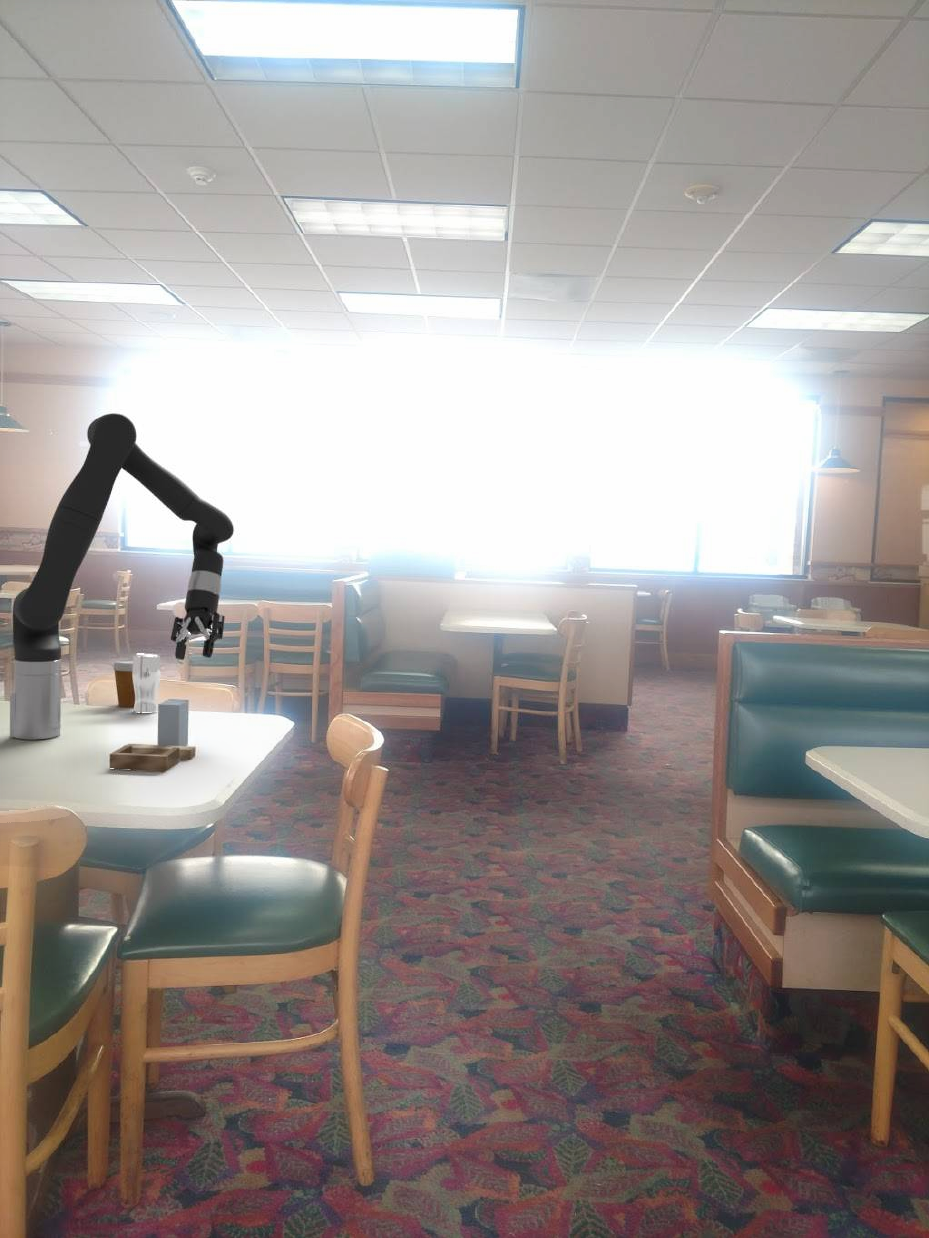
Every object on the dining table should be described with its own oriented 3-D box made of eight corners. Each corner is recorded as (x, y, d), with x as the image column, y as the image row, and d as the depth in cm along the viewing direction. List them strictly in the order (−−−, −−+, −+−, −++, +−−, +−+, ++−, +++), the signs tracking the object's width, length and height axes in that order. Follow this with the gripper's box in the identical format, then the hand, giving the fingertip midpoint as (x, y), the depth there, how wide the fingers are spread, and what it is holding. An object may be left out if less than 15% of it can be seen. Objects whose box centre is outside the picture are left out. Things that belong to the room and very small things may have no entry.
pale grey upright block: (157, 750, 177) (158, 704, 177) (168, 743, 184) (168, 699, 183) (178, 751, 177) (179, 705, 177) (188, 744, 184) (189, 700, 183)
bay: (109, 769, 161) (109, 754, 160) (125, 759, 168) (125, 745, 168) (165, 771, 161) (166, 756, 161) (179, 762, 168) (179, 747, 168)
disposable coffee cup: (141, 709, 220) (142, 664, 219) (105, 707, 220) (106, 662, 219) (155, 702, 230) (156, 660, 229) (121, 701, 230) (121, 658, 229)
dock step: (122, 756, 171) (122, 746, 171) (128, 752, 174) (128, 743, 174) (190, 759, 171) (190, 749, 171) (195, 755, 174) (195, 746, 174)
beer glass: (164, 712, 217) (165, 655, 216) (138, 715, 212) (140, 657, 211) (152, 708, 222) (153, 652, 221) (126, 710, 217) (127, 654, 216)
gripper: (170, 591, 200) (159, 656, 195) (214, 585, 193) (204, 652, 189) (192, 600, 206) (182, 663, 201) (236, 595, 200) (227, 660, 195)
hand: (193, 658), depth 195 cm, fingers open, 8 cm apart
